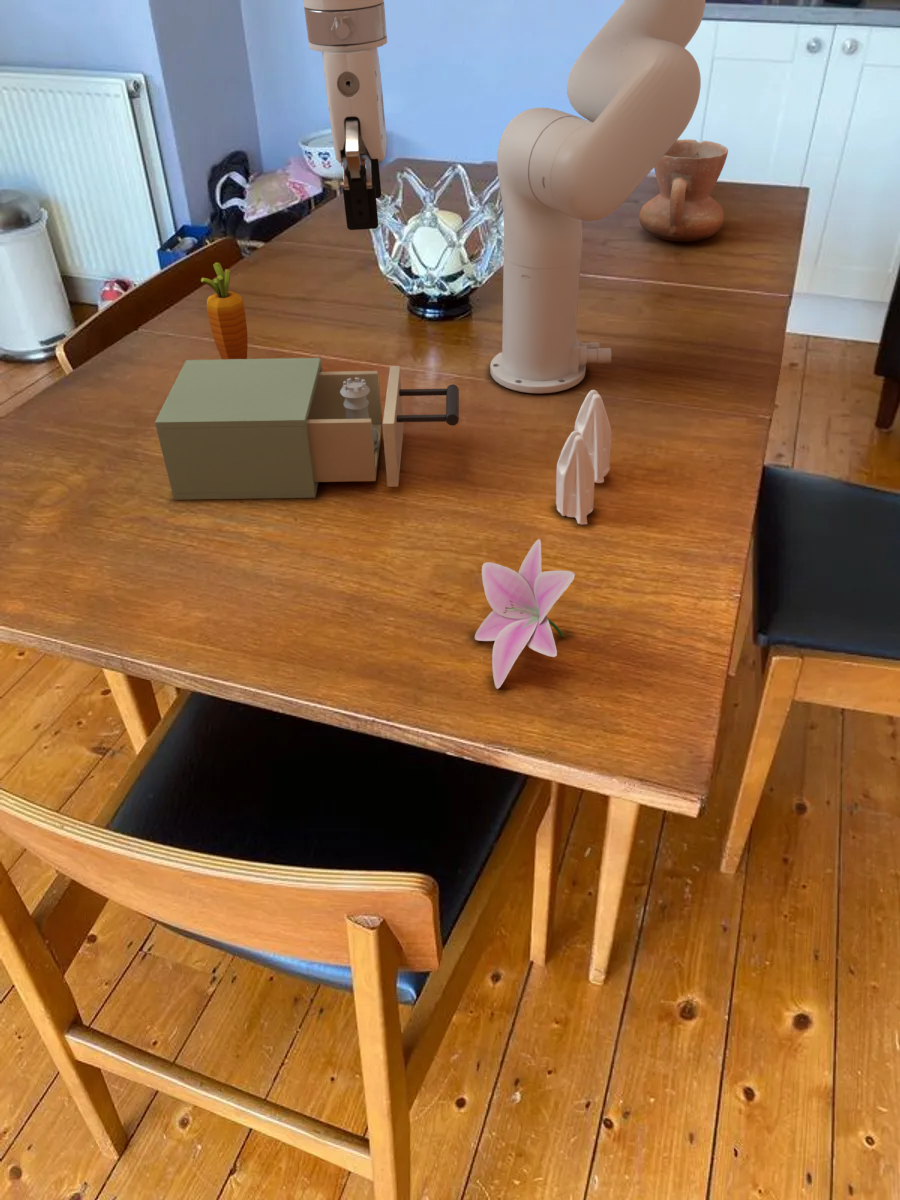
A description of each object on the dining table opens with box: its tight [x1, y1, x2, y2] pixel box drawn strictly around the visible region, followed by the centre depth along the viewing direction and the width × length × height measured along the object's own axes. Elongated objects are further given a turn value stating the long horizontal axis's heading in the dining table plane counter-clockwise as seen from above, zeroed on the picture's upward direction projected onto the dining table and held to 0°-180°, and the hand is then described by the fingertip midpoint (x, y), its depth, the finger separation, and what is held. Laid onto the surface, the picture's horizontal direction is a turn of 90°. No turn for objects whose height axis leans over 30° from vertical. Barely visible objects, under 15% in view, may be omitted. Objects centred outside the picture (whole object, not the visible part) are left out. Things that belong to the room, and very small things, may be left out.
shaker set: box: [555, 389, 612, 526], centre depth 99 cm, size 12×4×11 cm, turn 159°
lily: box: [474, 538, 576, 690], centre depth 81 cm, size 12×12×10 cm
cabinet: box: [154, 357, 323, 501], centre depth 105 cm, size 16×15×10 cm
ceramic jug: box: [638, 138, 729, 243], centre depth 159 cm, size 18×14×14 cm
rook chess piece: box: [340, 378, 381, 451], centre depth 104 cm, size 4×4×8 cm
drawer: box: [307, 365, 460, 488], centre depth 105 cm, size 21×13×8 cm, turn 90°
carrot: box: [200, 262, 249, 359], centre depth 120 cm, size 5×5×15 cm
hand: (365, 212), depth 100 cm, fingers open, 9 cm apart
